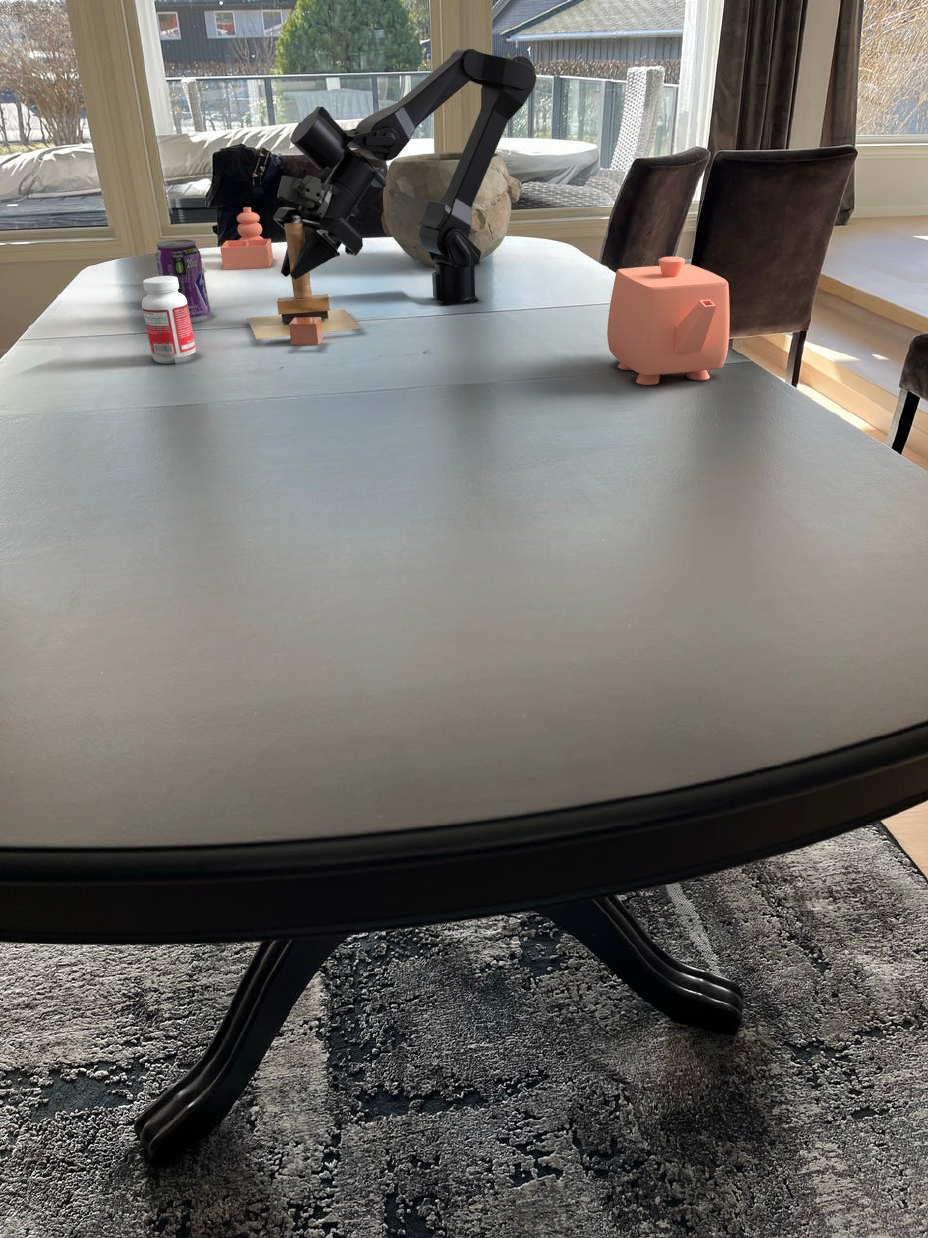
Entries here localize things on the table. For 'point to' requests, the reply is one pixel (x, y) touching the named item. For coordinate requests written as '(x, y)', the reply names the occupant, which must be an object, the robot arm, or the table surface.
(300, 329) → the cube
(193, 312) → the beverage can
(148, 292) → the pill bottle
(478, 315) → the table surface
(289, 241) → the wooden stamp
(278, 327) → the board
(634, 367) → the teapot
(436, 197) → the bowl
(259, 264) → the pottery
